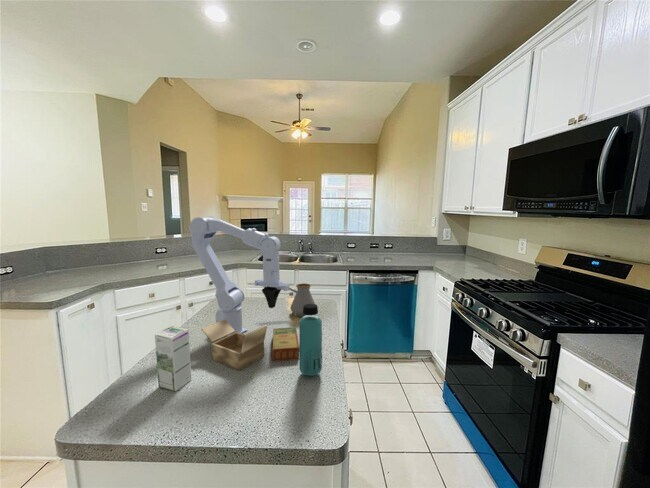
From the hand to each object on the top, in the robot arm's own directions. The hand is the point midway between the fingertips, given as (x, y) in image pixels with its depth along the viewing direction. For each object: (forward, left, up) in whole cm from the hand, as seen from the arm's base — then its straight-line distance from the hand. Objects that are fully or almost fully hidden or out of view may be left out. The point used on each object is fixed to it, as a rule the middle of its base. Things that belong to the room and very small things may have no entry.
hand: (272, 307), depth 104 cm
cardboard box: (+2, -18, -10) cm, 21 cm away
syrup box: (-2, -36, -11) cm, 38 cm away
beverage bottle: (+26, -14, -11) cm, 31 cm away
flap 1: (-7, -18, -3) cm, 20 cm away
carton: (+10, -5, -11) cm, 16 cm away
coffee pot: (-7, +21, -11) cm, 25 cm away
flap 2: (+9, -18, -2) cm, 20 cm away
